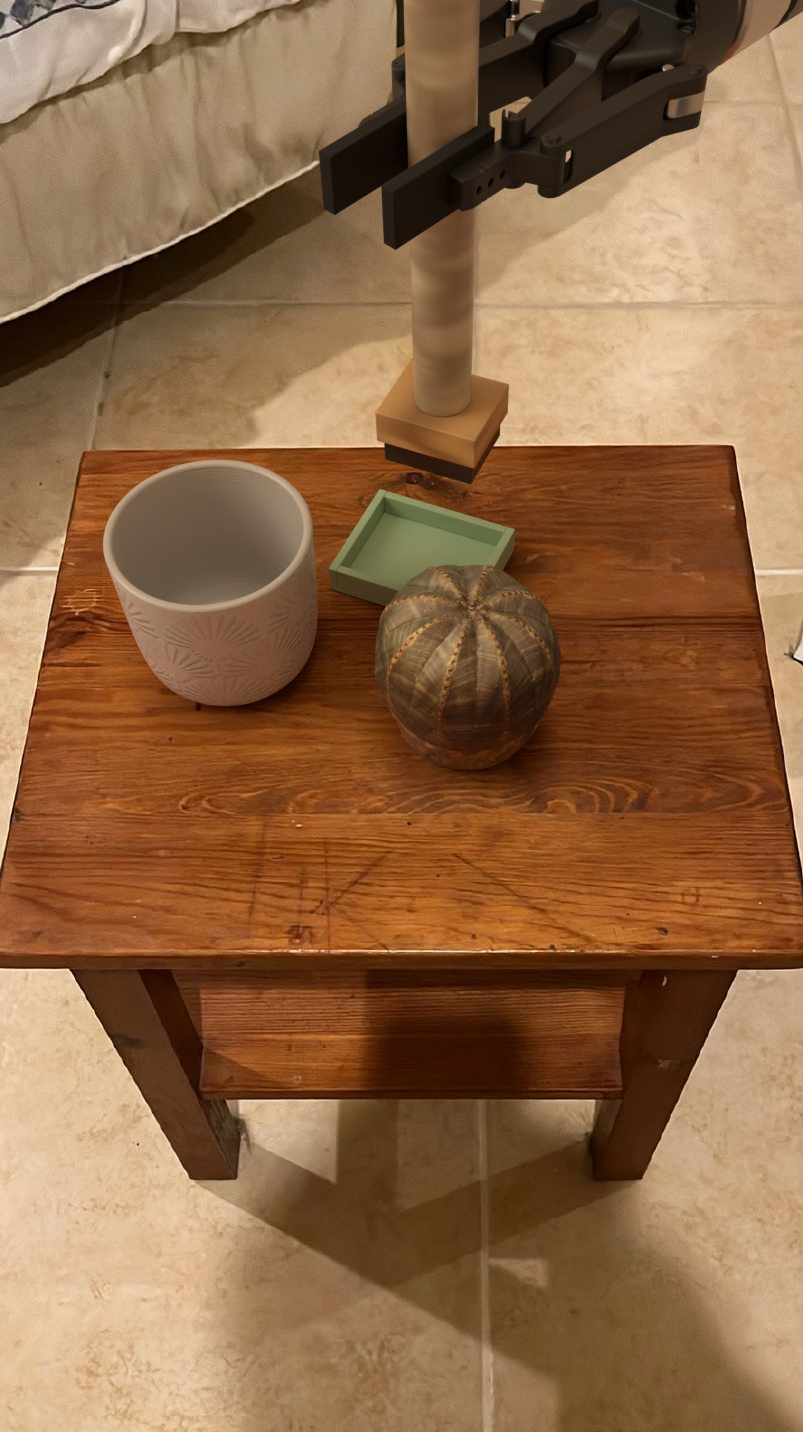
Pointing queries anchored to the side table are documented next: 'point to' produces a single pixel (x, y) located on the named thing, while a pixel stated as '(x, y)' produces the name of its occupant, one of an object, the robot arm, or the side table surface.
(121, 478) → the side table surface
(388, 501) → the tray
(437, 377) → the paper towel holder
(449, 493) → the side table surface
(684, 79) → the robot arm
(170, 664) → the planter
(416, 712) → the brown ribbed round dome
